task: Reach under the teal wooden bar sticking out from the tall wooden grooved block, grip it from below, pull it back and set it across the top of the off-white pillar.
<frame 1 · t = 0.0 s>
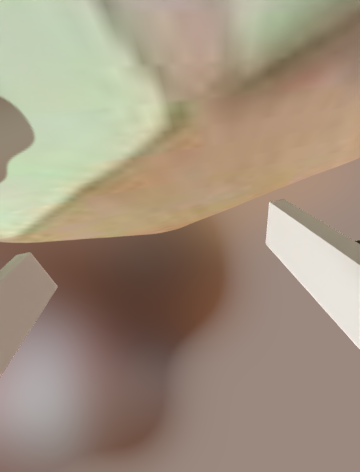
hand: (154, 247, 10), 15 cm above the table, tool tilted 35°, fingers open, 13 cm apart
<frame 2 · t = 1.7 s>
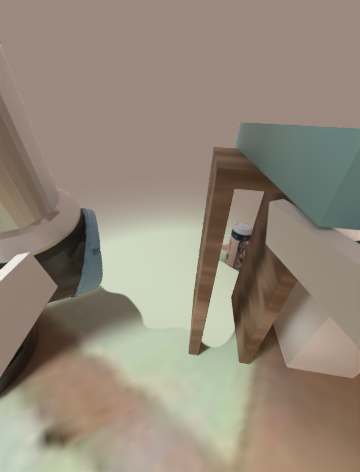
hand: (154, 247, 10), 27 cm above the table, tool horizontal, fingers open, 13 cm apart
beer can: (233, 264, 50), on the table
pillar: (302, 335, 34), on the table
bar: (271, 163, 16), point 30 cm above the table, touching gripper
tall wooden grooved block: (217, 322, 35), on the table
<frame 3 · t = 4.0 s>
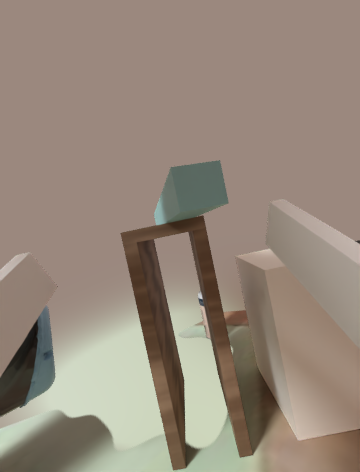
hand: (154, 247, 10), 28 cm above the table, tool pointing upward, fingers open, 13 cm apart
beer can: (215, 336, 47), on the table
pillar: (304, 390, 28), on the table
bar: (175, 222, 24), point 30 cm above the table, touching tall wooden grooved block
tall wooden grooved block: (205, 409, 29), on the table
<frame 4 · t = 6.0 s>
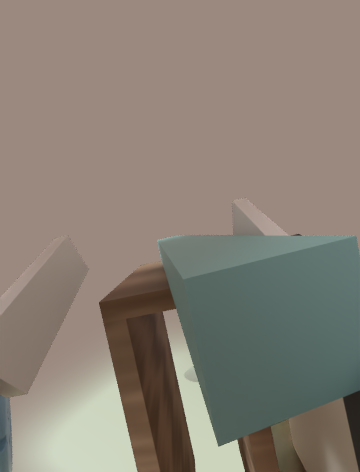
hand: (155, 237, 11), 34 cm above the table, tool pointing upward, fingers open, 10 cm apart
bar: (187, 274, 15), point 30 cm above the table, touching gripper, tall wooden grooved block
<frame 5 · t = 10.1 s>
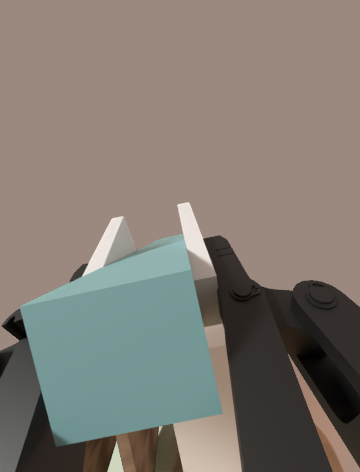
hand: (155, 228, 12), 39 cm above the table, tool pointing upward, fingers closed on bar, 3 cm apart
pillar: (218, 450, 31), on the table
bar: (171, 275, 16), point 34 cm above the table, touching gripper
tall wooden grooved block: (126, 467, 31), on the table
when the fingers open (29 cm above the table, at t = 13.6 s): bar drops 2 cm, resting on pillar.
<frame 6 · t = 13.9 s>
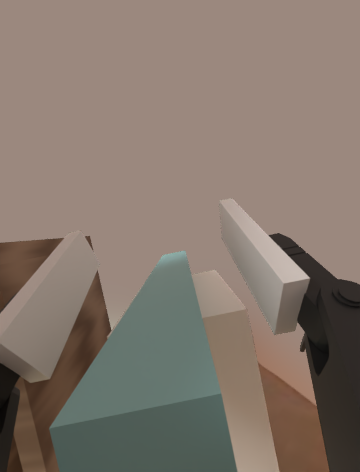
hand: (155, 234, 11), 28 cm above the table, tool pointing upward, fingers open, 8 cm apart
bar: (176, 304, 16), point 22 cm above the table, touching pillar
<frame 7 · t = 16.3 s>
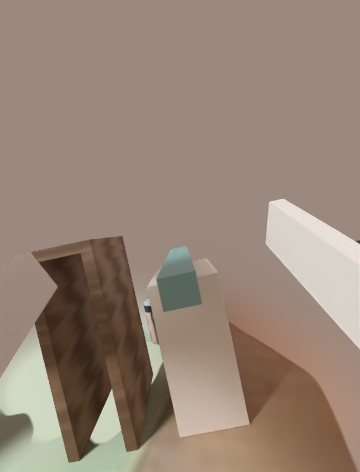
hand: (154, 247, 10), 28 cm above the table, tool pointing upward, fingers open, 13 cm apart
beer can: (160, 340, 50), on the table
pillar: (208, 392, 31), on the table
bar: (181, 274, 28), point 22 cm above the table, touching pillar
tall wooden grooved block: (119, 409, 32), on the table
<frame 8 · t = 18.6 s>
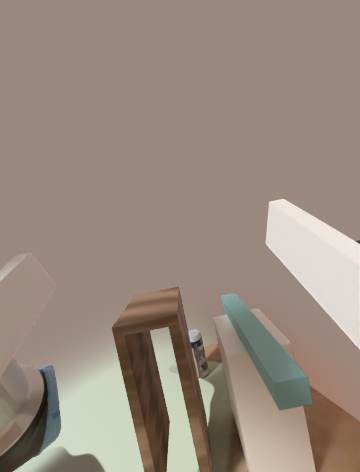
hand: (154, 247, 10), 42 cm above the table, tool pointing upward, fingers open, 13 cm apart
beer can: (201, 373, 53), on the table
pillar: (267, 439, 34), on the table
bar: (250, 337, 30), point 22 cm above the table, touching pillar
tall wooden grooved block: (184, 454, 34), on the table
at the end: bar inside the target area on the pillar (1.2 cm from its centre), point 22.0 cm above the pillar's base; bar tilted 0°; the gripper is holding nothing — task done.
